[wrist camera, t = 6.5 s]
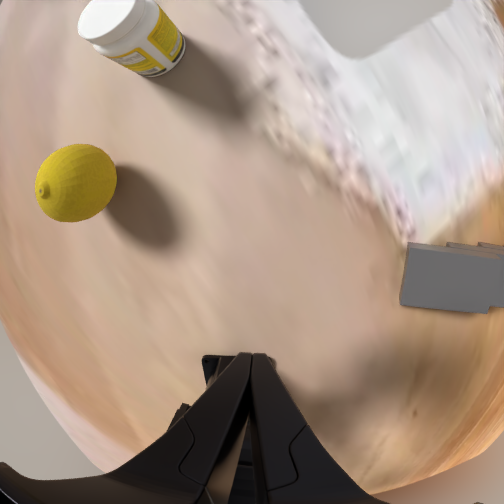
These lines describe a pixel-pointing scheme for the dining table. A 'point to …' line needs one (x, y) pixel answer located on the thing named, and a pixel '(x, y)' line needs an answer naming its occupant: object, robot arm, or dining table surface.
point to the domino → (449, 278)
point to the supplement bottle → (133, 35)
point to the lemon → (75, 183)
